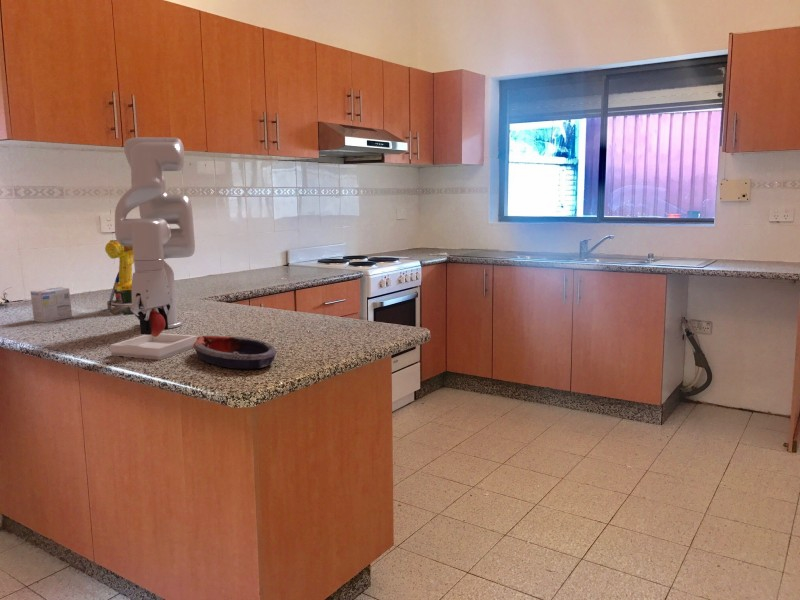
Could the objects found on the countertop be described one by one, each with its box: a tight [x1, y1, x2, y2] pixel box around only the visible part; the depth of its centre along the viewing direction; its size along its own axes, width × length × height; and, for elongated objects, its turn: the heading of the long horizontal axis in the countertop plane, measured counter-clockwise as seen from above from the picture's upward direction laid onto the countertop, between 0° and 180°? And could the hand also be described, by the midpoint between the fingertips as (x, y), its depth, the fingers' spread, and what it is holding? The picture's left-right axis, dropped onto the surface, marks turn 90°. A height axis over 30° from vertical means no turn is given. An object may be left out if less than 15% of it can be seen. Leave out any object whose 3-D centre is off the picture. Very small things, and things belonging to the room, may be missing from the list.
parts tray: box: [109, 332, 199, 361], centre depth 179 cm, size 16×16×3 cm
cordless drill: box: [104, 239, 135, 315], centre depth 244 cm, size 18×19×28 cm
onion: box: [148, 308, 166, 337], centre depth 178 cm, size 6×6×8 cm
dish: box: [193, 335, 277, 370], centre depth 167 cm, size 16×31×5 cm, turn 44°
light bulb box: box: [30, 286, 73, 324], centre depth 229 cm, size 11×7×11 cm, turn 149°
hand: (154, 331), depth 178 cm, fingers closed on onion, 5 cm apart
